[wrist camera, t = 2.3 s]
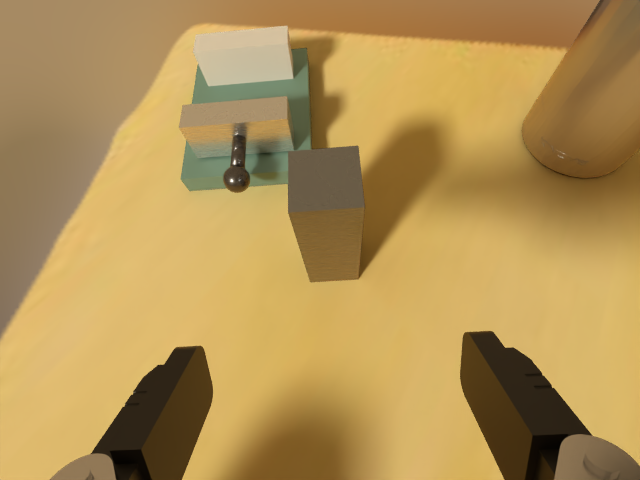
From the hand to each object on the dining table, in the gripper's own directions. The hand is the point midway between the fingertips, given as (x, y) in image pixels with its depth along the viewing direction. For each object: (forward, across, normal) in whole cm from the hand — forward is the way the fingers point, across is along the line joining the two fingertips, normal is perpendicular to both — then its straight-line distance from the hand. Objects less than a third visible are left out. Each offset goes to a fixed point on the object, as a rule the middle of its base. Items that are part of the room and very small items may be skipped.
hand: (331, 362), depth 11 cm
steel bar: (+19, 0, +5) cm, 19 cm away
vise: (+30, +7, -7) cm, 32 cm away
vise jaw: (+23, +7, -3) cm, 25 cm away
